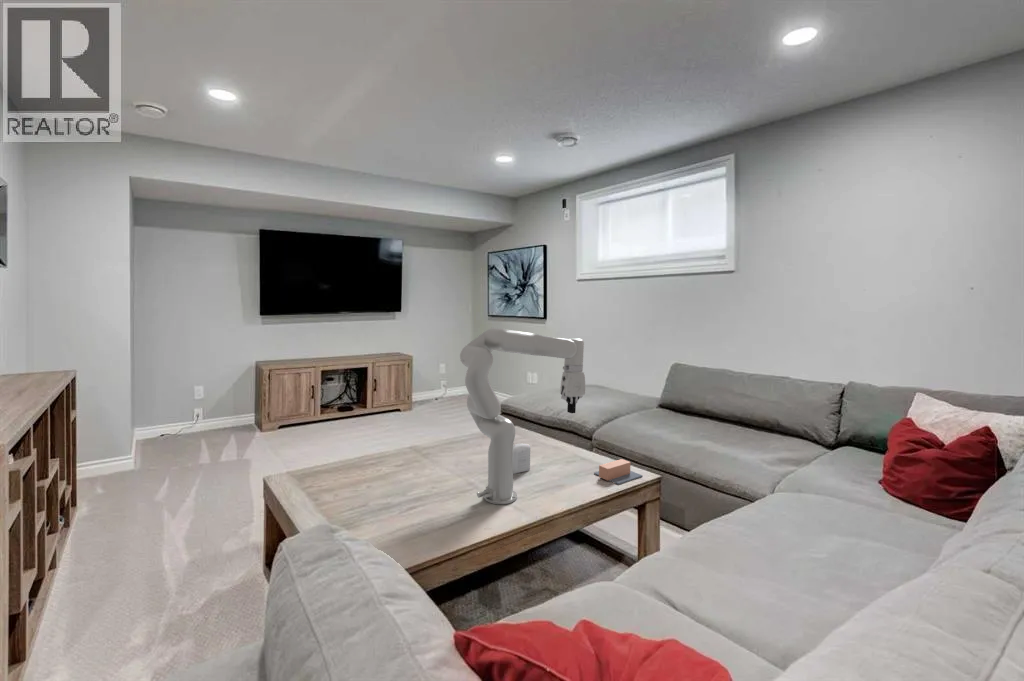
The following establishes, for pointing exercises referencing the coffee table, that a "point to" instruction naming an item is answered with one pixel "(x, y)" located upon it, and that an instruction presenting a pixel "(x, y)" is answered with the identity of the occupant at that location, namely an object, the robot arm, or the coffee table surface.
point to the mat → (624, 477)
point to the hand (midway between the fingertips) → (571, 412)
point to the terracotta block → (614, 469)
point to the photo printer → (521, 458)
